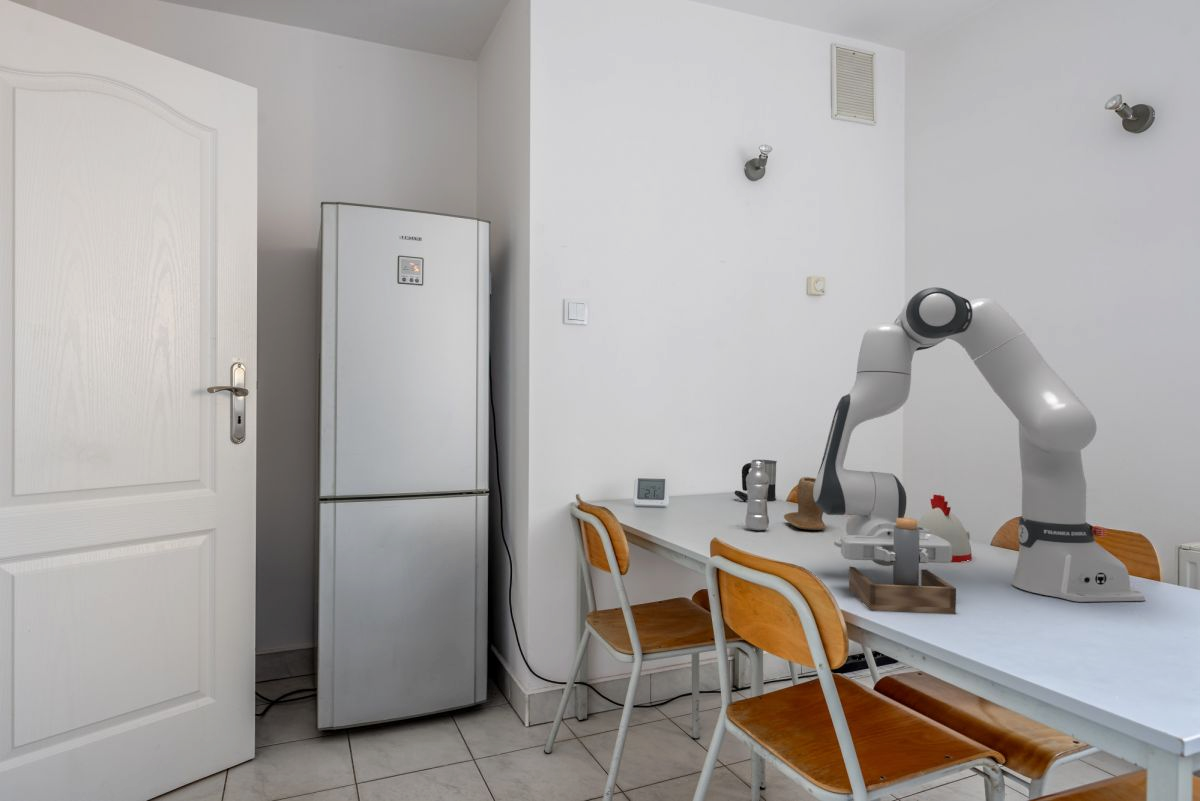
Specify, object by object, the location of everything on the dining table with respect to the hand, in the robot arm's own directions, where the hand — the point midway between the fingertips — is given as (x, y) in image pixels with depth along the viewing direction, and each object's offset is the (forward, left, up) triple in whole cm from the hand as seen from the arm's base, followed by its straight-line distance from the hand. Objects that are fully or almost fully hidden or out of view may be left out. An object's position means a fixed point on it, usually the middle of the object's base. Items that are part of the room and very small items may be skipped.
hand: (907, 558), depth 129 cm
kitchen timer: (-24, -46, -9) cm, 53 cm away
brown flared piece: (+1, -79, -9) cm, 80 cm away
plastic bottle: (+17, -72, -9) cm, 75 cm away
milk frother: (+10, -134, -9) cm, 134 cm away
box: (0, -4, -9) cm, 10 cm away
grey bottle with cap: (0, -1, -7) cm, 7 cm away
